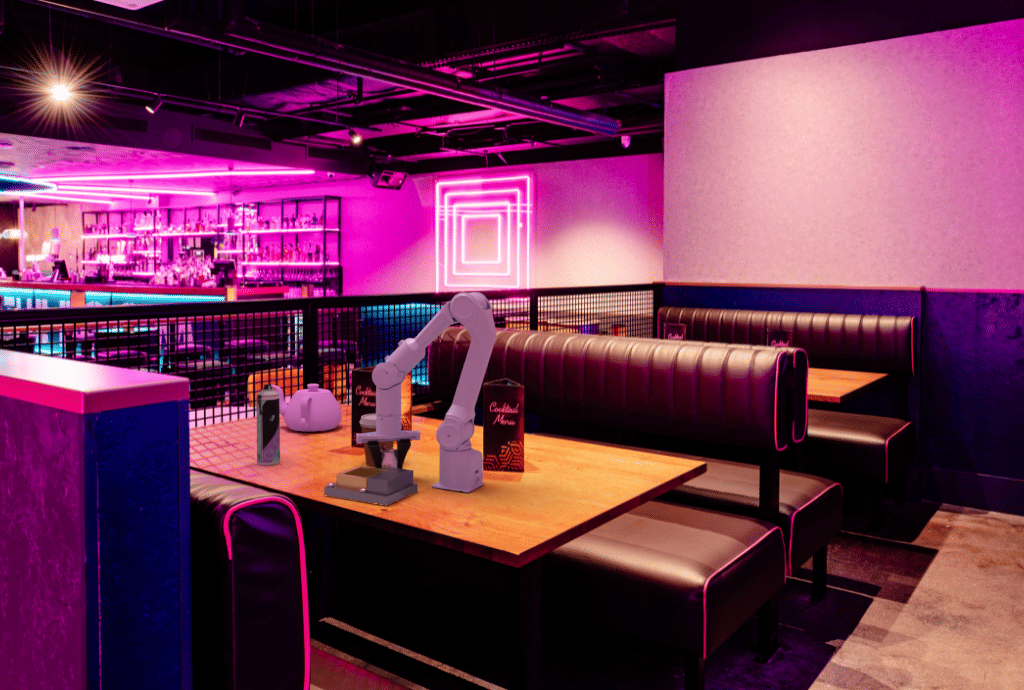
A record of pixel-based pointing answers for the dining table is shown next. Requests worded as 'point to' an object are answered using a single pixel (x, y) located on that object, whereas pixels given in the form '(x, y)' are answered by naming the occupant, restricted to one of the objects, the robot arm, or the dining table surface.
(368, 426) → the disposable coffee cup
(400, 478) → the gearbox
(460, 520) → the dining table surface
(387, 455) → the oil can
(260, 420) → the spray can
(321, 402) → the teapot
